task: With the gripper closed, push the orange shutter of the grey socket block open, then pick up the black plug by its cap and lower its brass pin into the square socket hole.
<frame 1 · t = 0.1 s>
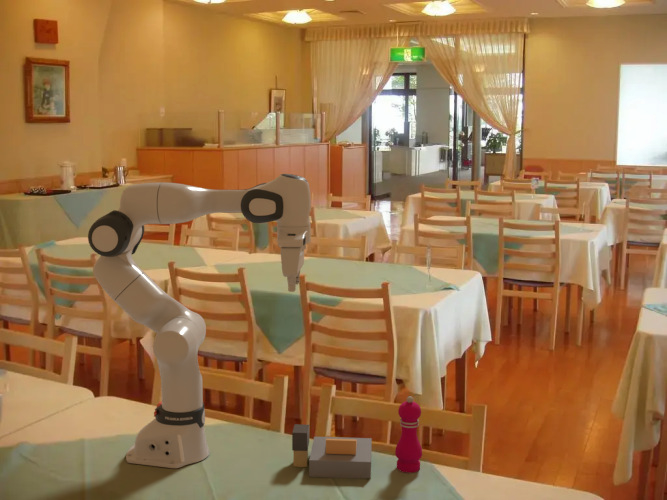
hand: (293, 287, 215), 48 cm above the table, tool pointing down, fingers open, 8 cm apart
pepper mill: (408, 468, 217), on the table
socket block: (341, 465, 219), on the table
plug: (300, 463, 219), on the table
shutter: (341, 441, 218), point 7 cm above the table, slide at 0.0 cm
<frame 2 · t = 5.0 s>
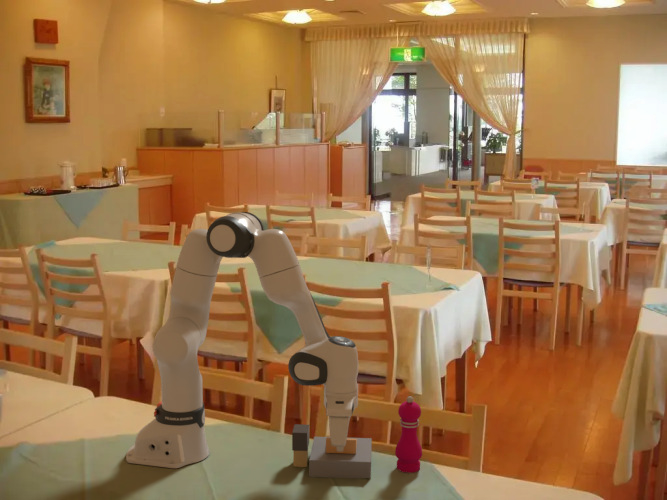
hand: (340, 449, 213), 7 cm above the table, tool pointing down, fingers closed
shutter: (341, 440, 218), point 7 cm above the table, slide at 0.5 cm, touching gripper
everything else where it was.
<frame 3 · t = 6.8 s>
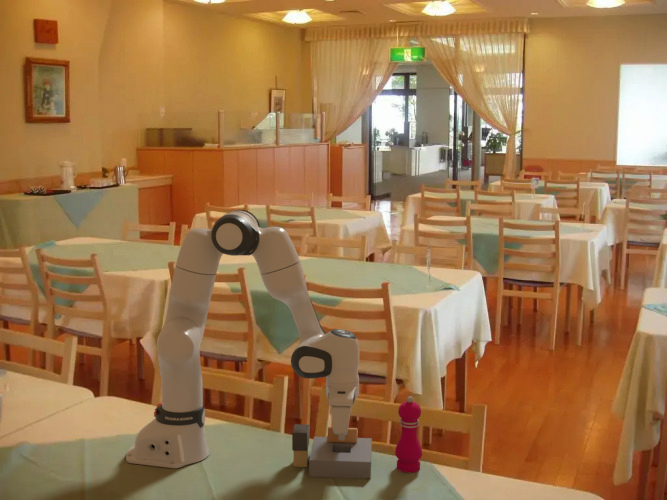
hand: (341, 438, 220), 7 cm above the table, tool pointing down, fingers closed
shutter: (343, 430, 226), point 7 cm above the table, slide at 8.1 cm, touching gripper
everything else where it was.
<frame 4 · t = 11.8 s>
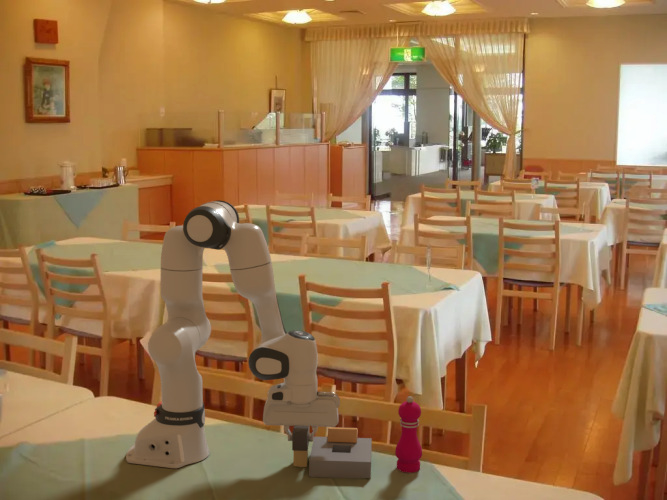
hand: (300, 440, 218), 7 cm above the table, tool pointing down, fingers closed on plug, 4 cm apart
plug: (300, 463, 219), on the table, touching gripper
shutter: (343, 430, 226), point 7 cm above the table, slide at 8.1 cm
everything else where it was.
when the fingers open (7 cm above the table, at t = 17.1 s): plug stays where it is, resting in socket block.
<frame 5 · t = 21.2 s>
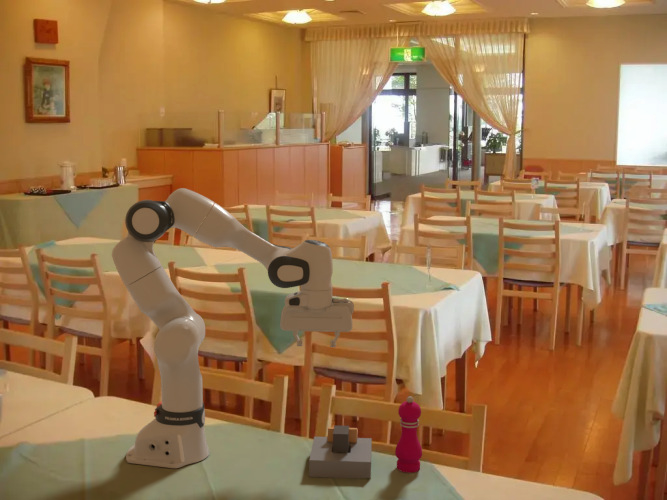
hand: (316, 346, 228), 29 cm above the table, tool pointing down, fingers open, 8 cm apart
plug: (340, 465, 219), resting in socket block
everything else where it was.
at the end: shutter slide at 8.1 cm; plug 0.1 cm off-centre on the socket block, point 0.0 cm above the socket block's base; the gripper is holding nothing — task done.
